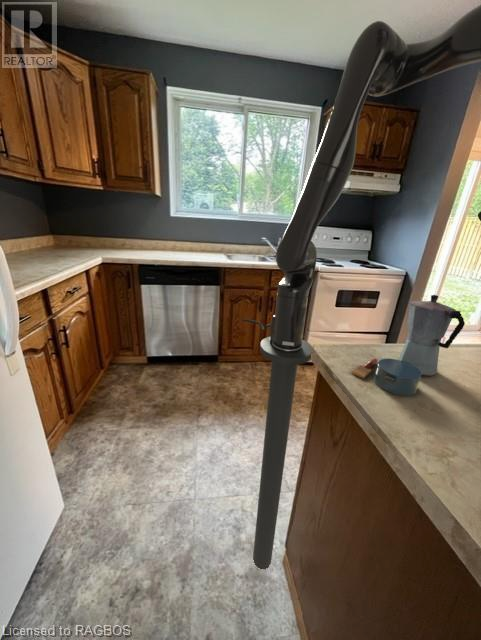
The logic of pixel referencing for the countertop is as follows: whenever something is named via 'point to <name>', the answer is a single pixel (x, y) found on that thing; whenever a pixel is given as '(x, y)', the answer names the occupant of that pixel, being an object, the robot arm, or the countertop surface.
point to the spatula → (364, 369)
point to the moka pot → (428, 333)
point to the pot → (397, 376)
